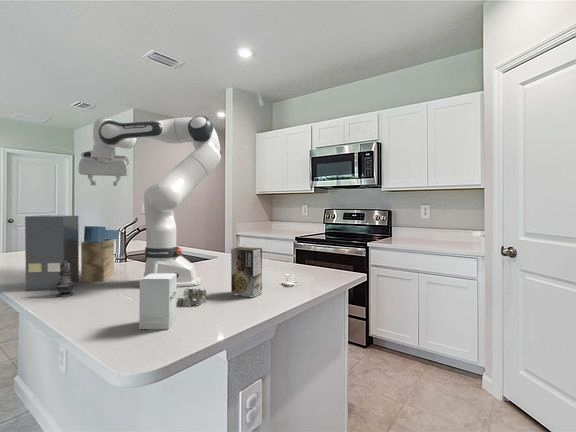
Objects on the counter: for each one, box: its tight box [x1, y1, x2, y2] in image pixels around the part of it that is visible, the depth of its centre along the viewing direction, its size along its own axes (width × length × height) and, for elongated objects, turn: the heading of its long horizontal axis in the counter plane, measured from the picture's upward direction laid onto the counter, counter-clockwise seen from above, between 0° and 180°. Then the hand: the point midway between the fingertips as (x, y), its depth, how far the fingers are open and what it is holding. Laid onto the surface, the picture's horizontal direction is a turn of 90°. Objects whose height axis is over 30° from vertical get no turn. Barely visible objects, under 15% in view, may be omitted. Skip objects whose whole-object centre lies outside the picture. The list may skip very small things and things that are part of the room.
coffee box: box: [230, 246, 263, 297], centre depth 114 cm, size 9×6×16 cm
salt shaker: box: [55, 260, 77, 298], centre depth 110 cm, size 6×6×12 cm
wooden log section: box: [80, 239, 115, 283], centre depth 135 cm, size 8×12×16 cm, turn 11°
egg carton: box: [181, 287, 207, 307], centre depth 105 cm, size 10×7×4 cm
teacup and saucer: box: [284, 273, 295, 285], centre depth 130 cm, size 9×8×4 cm
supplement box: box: [138, 273, 177, 330], centre depth 84 cm, size 7×7×13 cm
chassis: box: [24, 214, 80, 292], centre depth 121 cm, size 12×12×26 cm
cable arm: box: [83, 225, 119, 242], centre depth 137 cm, size 6×22×5 cm
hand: (104, 185), depth 150 cm, fingers open, 8 cm apart
